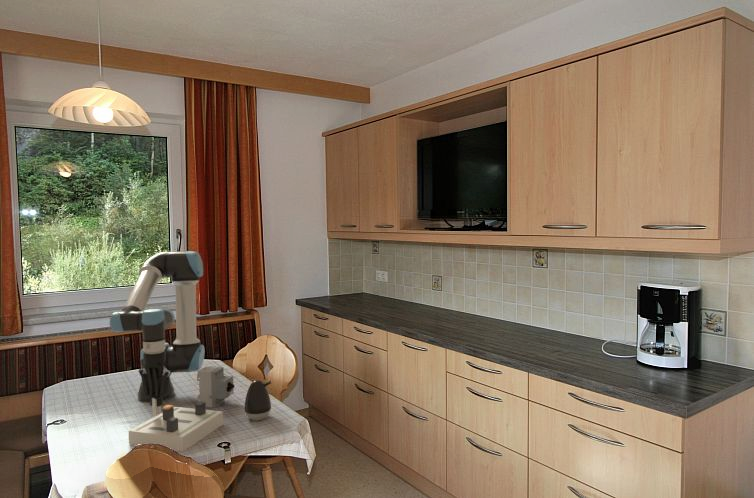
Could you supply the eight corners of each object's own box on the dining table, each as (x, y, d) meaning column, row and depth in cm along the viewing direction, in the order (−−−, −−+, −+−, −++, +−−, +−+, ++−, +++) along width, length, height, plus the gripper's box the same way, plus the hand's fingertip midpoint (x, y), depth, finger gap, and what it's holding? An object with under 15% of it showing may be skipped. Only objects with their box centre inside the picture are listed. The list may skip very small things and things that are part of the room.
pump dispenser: (272, 421, 197) (271, 382, 196) (244, 424, 195) (243, 385, 194) (271, 412, 207) (270, 375, 206) (245, 414, 205) (244, 377, 204)
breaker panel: (129, 444, 178) (128, 419, 178) (174, 419, 201) (173, 396, 201) (182, 451, 172) (181, 425, 171) (223, 424, 195) (222, 401, 194)
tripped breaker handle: (162, 419, 186) (162, 407, 186) (168, 416, 189) (167, 404, 189) (168, 420, 186) (167, 408, 185) (173, 417, 188) (173, 405, 188)
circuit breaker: (229, 408, 212) (228, 372, 211) (198, 406, 215) (196, 371, 214) (237, 401, 220) (236, 367, 219) (207, 400, 222) (206, 366, 222)
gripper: (132, 353, 186) (134, 416, 187) (162, 355, 182) (164, 420, 183) (147, 348, 193) (149, 409, 194) (176, 350, 189) (178, 412, 190)
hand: (156, 414), depth 189 cm, fingers closed
